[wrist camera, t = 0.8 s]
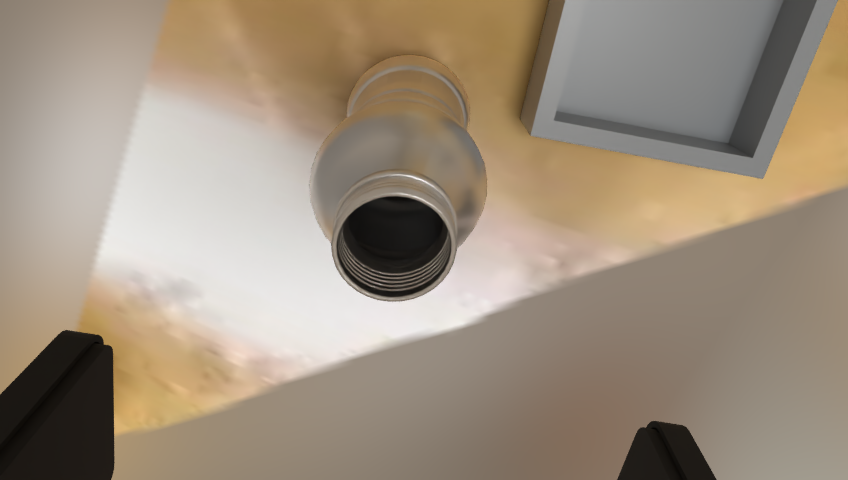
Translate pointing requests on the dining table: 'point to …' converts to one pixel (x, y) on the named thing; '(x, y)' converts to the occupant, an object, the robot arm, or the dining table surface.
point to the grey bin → (674, 77)
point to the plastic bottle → (399, 179)
